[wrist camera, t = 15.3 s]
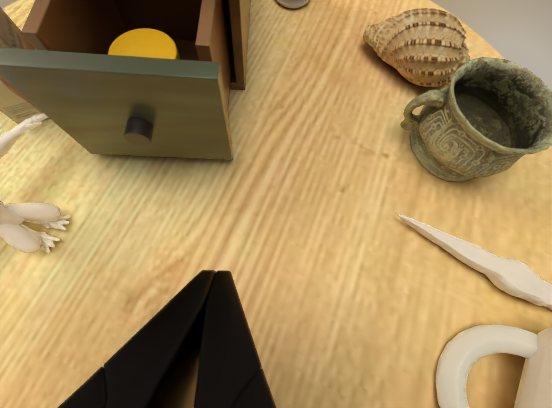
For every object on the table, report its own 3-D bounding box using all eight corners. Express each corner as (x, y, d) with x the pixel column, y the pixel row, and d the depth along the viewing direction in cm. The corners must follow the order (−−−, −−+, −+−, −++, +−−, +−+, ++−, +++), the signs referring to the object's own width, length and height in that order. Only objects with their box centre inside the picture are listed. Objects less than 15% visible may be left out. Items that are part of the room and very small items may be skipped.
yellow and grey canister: (190, 127, 21) (171, 80, 17) (135, 124, 21) (100, 75, 16) (196, 84, 23) (180, 30, 18) (144, 81, 23) (115, 25, 18)
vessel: (382, 169, 24) (424, 128, 18) (392, 94, 27) (431, 37, 21) (511, 204, 24) (597, 173, 18) (507, 124, 26) (580, 75, 20)
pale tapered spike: (566, 297, 21) (594, 297, 19) (561, 328, 20) (590, 332, 18) (398, 204, 23) (410, 197, 21) (386, 230, 22) (398, 224, 20)
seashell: (358, 101, 30) (464, 97, 25) (353, 53, 25) (485, 38, 20) (370, 53, 32) (468, 41, 28) (368, 0, 27) (487, -23, 23)
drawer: (231, 173, 22) (215, 97, 13) (87, 167, 21) (-25, 83, 13) (240, 48, 26) (233, -67, 18) (122, 40, 25) (56, -84, 17)
